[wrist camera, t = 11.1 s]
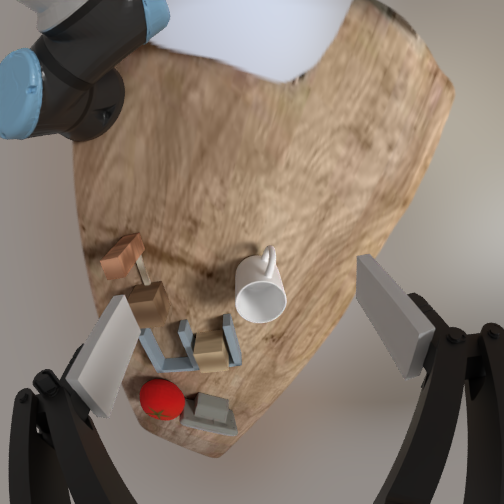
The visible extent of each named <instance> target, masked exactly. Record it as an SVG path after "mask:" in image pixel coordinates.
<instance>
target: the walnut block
mask: <svg viewBox="0 0 504 504" xmlns="http://www.w3.org/2000/svg"><path fill="white" fill-rule="evenodd" d="M144 250H145V248H144V245H143V242H142V239H141V236H140V232H139V233H135V234H130V235H126V236H123V237H122V238H121V239H120V240H119V241H118V242H117V243H116V244H115V246H114V247H113V248H112V249H111V250H110V251H109V252H108V253H107V254H106V255H105V256H104V257H103V258H102V259H101V260H100V262H101V265H102V268H103V270H104V273H105V275H106V277H107V280H112V279H118V278H124V277H126V275H127V274H128V273H129V271H130V270H131V268H132V267H133V265H134V264H135V262H136V263H137V266H138V269H139V271H140V274H141V277H142V279H143V282H144V284H140V285H136V286H135V287H134V289H133V291H132V293H131V294H130V296H129V298H128V299H127V302H128V304H129V306H130V308H131V311H132V313H133V315H134V317H135V319H136V322H137V324H138V326H139V328H140V329H142V328H153V327H162V326H164V324H165V321H166V318H167V315H168V312H169V309H170V306H171V305H170V302H169V300H168V297H167V294H166V292H165V289H164V286H163V283H162V281H159V282H152V283H151V281H150V278H149V276H148V273H147V270H146V267H145V264H144V262H143V259H142V256H141V254H142V253H143V251H144Z"/></svg>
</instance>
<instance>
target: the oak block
mask: <svg viewBox="0 0 504 504" xmlns="http://www.w3.org/2000/svg"><path fill="white" fill-rule="evenodd" d="M193 355H194V357H195V360H196V362H197V364H198V367H199V369H200V371H201V373H209V372H219V371H228V370H229V347H228V344H227V341H226V337H225V334H224V331H223V329H222V330H214V331H207V332H198V333H197V334H196V340H195V346H194V353H193Z"/></svg>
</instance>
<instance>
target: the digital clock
mask: <svg viewBox="0 0 504 504" xmlns="http://www.w3.org/2000/svg"><path fill="white" fill-rule="evenodd" d="M228 406H229V400H228V399H224V398H219V397H215V396H211V395H208V394H204V393H200V392H198V394H197V396H196V398H195V399H194V401H193V400H190V399H185V406H184V409H183V411H182V412H181V414H180V423H181V424H182V425H184V426H187V427H191V428H195V429H199V430H203V431H208V432H213V433H217V434H222V435H228V436H235V435H237V433H238V431H237V426H236V422H235V418H234V414H233V411H232V410H230V409H228Z"/></svg>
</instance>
